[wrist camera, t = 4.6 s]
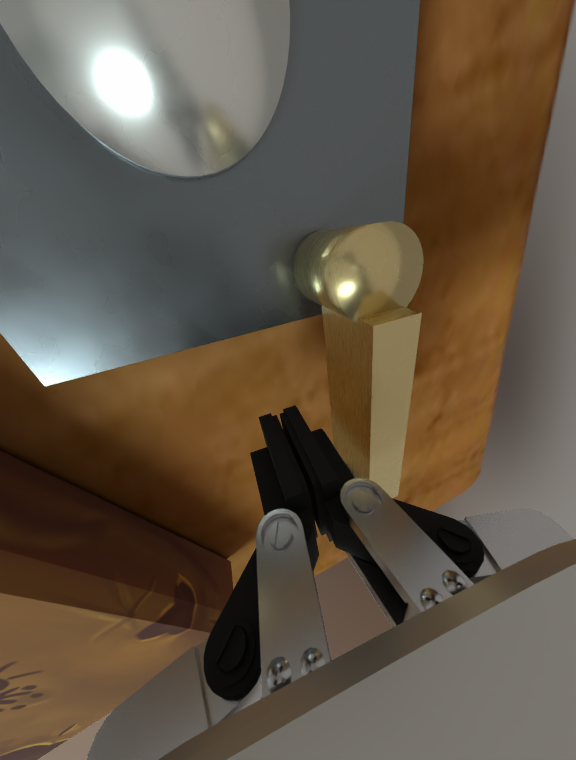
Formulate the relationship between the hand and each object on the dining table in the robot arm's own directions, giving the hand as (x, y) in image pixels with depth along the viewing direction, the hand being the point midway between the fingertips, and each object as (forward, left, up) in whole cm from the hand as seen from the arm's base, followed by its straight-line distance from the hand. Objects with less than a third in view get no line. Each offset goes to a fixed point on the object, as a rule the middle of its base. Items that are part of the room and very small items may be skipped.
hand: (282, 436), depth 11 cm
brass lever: (-1, +4, -3) cm, 5 cm away
